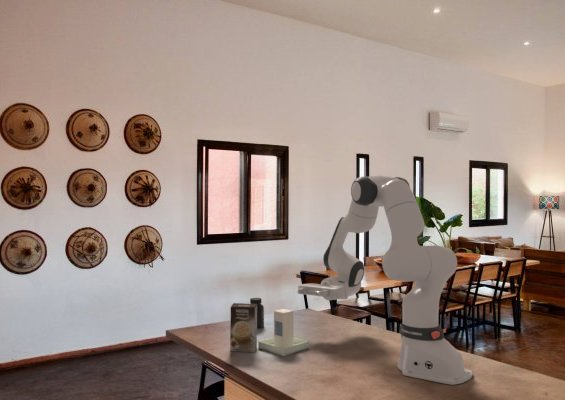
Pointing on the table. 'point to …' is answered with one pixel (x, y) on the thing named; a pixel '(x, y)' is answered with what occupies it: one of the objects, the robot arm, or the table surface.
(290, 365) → the table surface
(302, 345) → the tray
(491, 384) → the table surface
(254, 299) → the supplement bottle
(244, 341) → the coffee box
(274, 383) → the table surface
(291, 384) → the table surface
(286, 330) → the box
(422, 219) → the robot arm
